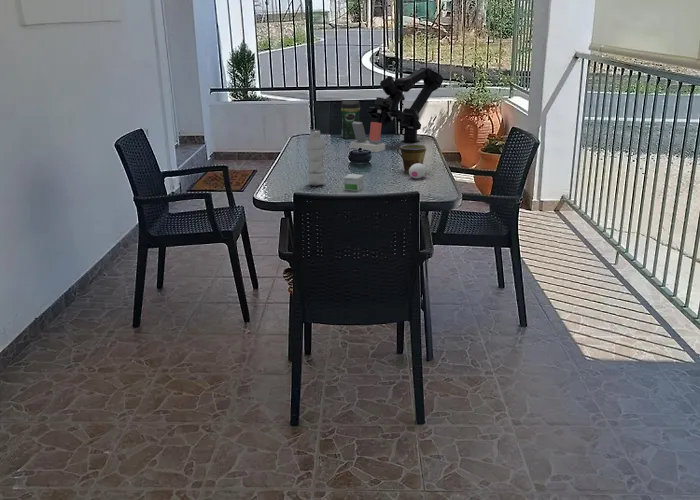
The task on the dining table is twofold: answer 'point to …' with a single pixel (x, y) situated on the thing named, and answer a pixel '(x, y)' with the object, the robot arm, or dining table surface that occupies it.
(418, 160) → the ceramic cup
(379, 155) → the dining table surface
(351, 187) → the small box
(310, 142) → the plastic bottle
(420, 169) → the stress ball
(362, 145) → the shallow grey tray
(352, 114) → the coffee jar
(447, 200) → the dining table surface
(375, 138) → the upright red slab
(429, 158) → the dining table surface
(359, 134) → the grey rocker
